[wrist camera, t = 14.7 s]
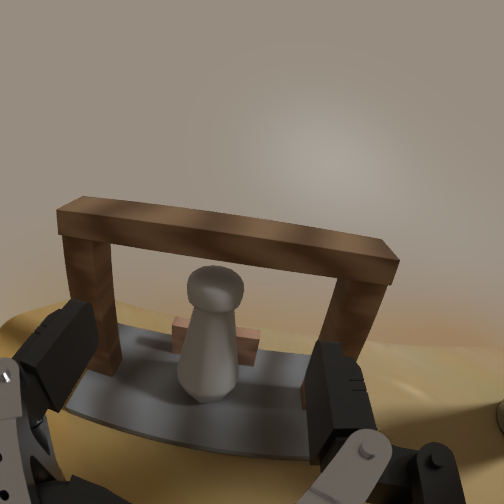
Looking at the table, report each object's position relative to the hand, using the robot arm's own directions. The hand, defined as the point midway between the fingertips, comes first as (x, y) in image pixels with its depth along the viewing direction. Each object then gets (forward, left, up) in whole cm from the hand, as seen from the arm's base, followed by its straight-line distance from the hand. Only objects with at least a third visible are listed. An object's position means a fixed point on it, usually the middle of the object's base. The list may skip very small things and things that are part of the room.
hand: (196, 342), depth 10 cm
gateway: (-3, -12, -18) cm, 21 cm away
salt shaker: (-3, -12, -17) cm, 21 cm away
